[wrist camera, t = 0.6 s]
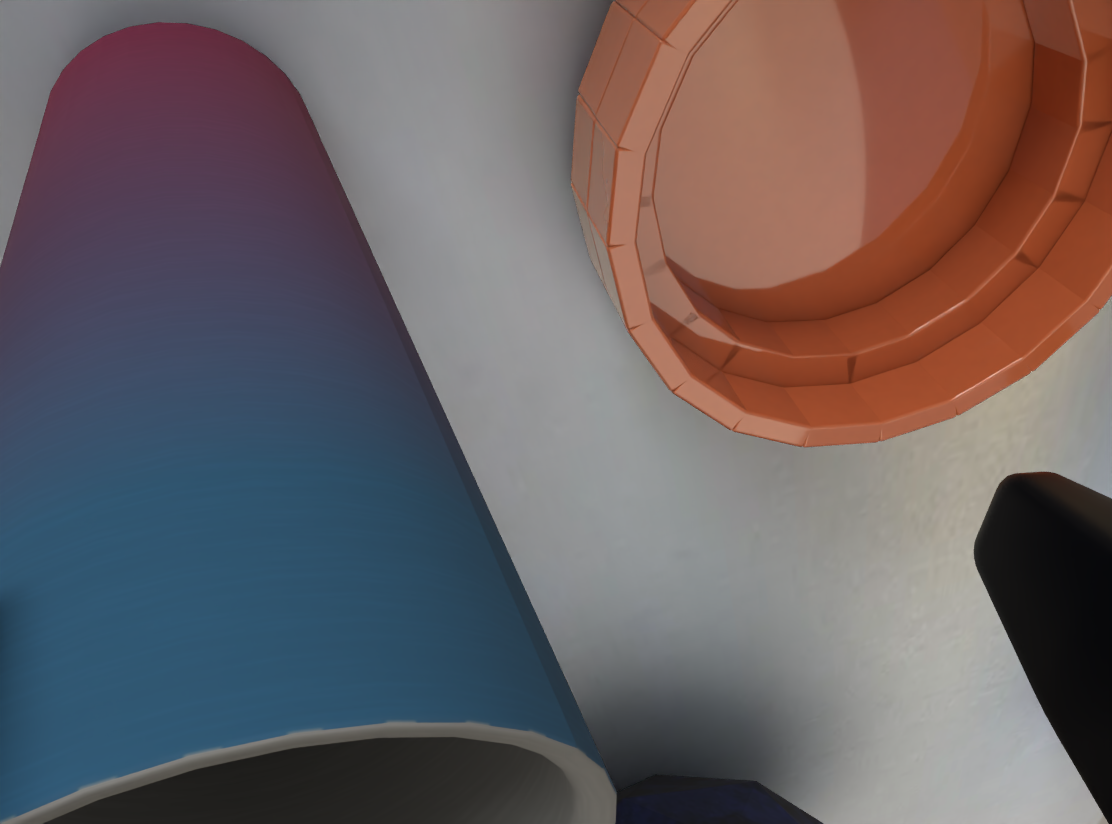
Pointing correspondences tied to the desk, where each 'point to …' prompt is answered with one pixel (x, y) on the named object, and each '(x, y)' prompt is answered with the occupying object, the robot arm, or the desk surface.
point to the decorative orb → (704, 803)
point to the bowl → (847, 201)
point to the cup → (242, 490)
